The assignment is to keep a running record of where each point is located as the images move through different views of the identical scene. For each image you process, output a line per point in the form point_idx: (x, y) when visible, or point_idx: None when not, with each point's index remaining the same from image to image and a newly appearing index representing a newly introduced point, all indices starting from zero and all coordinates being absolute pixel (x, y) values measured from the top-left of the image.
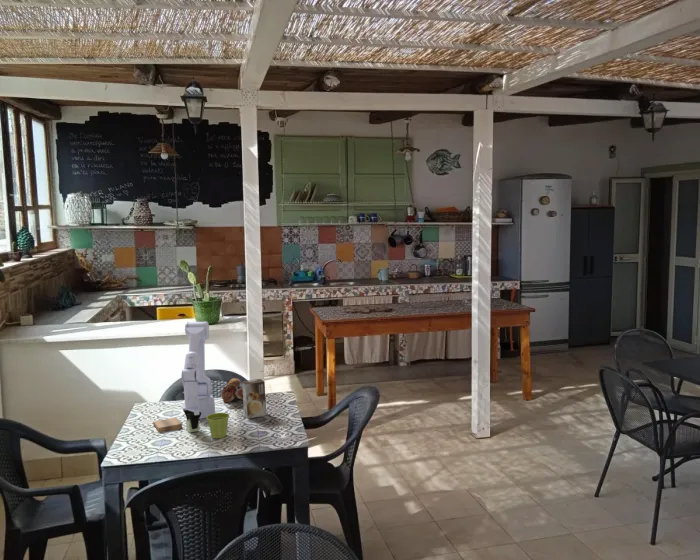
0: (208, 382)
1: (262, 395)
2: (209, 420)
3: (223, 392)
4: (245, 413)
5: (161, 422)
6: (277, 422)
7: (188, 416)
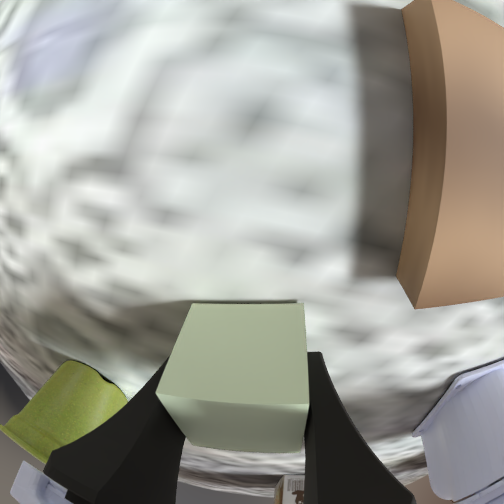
0: None
1: None
2: (6, 426)
3: None
4: None
5: None
6: (199, 479)
7: (314, 454)
